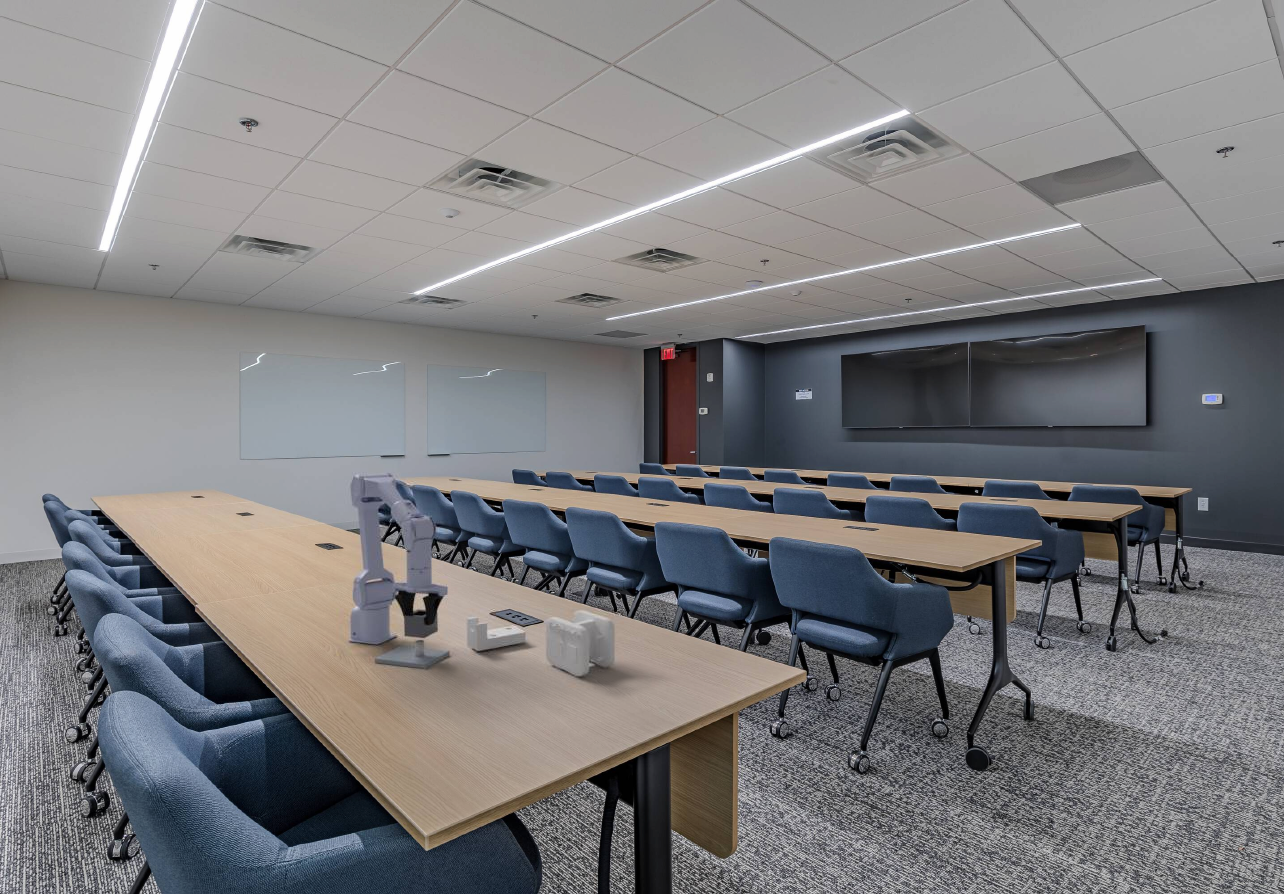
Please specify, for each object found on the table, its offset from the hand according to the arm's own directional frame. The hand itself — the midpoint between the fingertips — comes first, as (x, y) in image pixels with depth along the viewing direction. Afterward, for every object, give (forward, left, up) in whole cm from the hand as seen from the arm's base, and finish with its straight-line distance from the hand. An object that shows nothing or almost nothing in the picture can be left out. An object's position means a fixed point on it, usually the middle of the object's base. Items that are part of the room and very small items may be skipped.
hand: (419, 623), depth 163 cm
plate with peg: (-2, 0, -9) cm, 9 cm away
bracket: (+12, +15, -9) cm, 22 cm away
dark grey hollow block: (0, +1, -3) cm, 3 cm away
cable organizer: (+39, +7, -9) cm, 41 cm away
